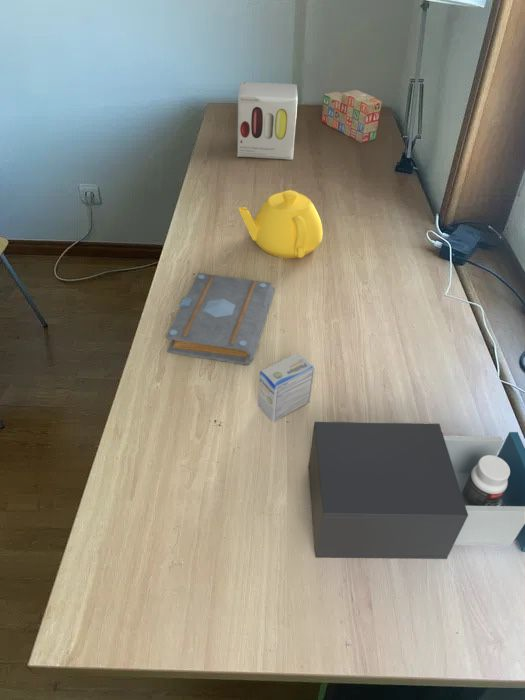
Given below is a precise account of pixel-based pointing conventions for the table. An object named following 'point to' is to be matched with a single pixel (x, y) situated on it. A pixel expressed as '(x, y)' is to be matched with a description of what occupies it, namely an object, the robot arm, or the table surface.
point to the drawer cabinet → (383, 491)
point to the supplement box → (266, 120)
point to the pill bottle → (486, 482)
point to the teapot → (285, 225)
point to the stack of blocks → (352, 114)
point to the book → (221, 319)
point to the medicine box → (285, 386)
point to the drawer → (519, 497)
